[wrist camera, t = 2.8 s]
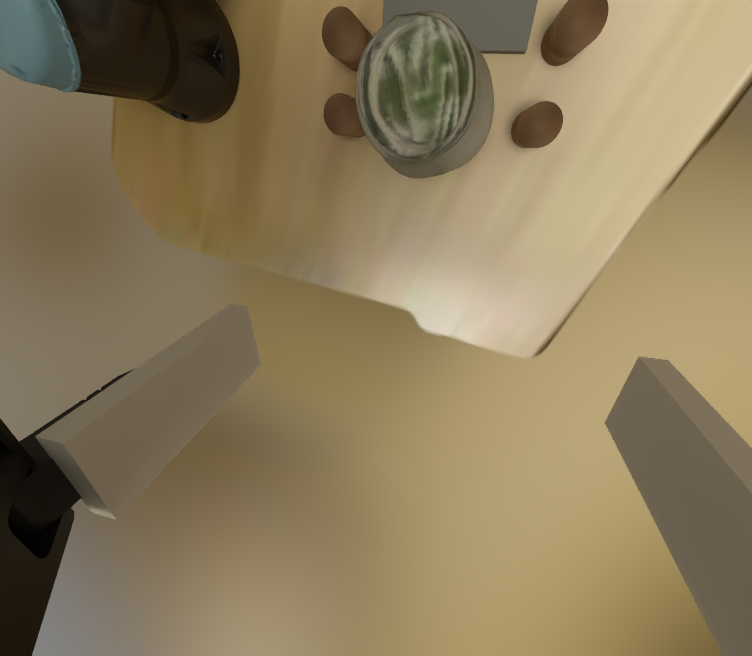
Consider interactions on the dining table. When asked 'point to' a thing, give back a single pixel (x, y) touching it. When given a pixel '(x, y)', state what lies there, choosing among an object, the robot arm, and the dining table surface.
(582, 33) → the cylinder
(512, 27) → the mat
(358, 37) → the cylinder
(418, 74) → the grey ceramic vase
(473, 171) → the dining table surface
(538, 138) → the cylinder
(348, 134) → the cylinder
